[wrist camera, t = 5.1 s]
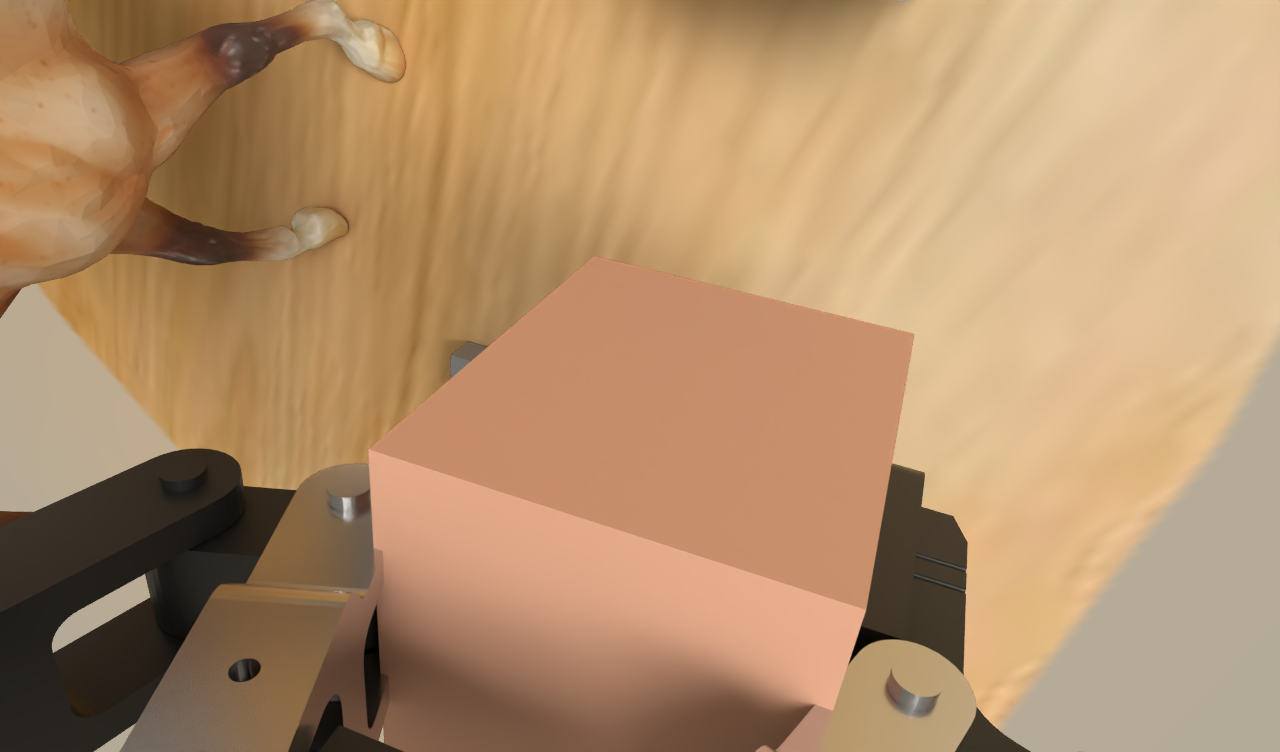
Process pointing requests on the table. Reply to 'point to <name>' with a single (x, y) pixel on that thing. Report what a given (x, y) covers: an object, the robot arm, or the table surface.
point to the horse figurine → (136, 139)
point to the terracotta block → (635, 522)
